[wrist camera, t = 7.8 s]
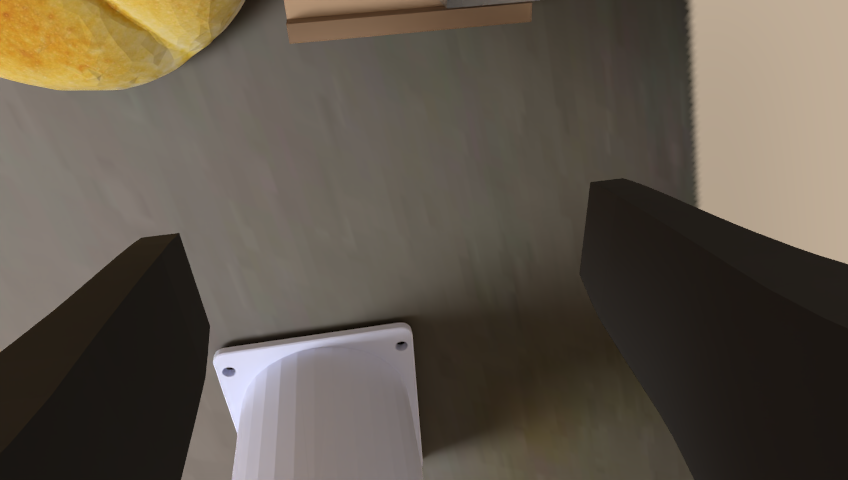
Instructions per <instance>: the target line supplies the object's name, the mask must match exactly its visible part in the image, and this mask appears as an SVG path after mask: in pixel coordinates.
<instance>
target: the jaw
mask: <svg viewBox="0 0 848 480" xmlns="http://www.w3.org/2000/svg"><path fill="white" fill-rule="evenodd" d="M526 1H538V0H440V2H441V3H442V4H443V5H444V6H445V7H446V8H458V7H469V6H481V5H492V4H504V3H515V2H526Z"/></svg>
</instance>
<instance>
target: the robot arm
mask: <svg viewBox="0 0 848 480" xmlns="http://www.w3.org/2000/svg"><path fill="white" fill-rule="evenodd" d="M580 276H581V279H582V281H583V283H584V286H585V288H586V290H587V293H588V295H589V298H590V300H591V302H592V304H593V306H594V308H595V310H596V313H597V315H598V317H599V319H600V320H601V322H602V324H603V325H604V327H605V329H606V330H607V332H608V334H609V335H610V337H611V338H612V340H613V342H614V343H615V345H616V346H617V348H618V349H619V351H620V353H621V354H622V356H623V357H624V359H625V360H626V362H627V364H628V365H629V367H630V368H631V370H632V371H633V373H634V375H635V376H636V378H637V379H638V381H639V382H640V384H641V385H642V387H643V389H644V390H645V392H646V393H647V395H648V396H649V398H650V399H651V401H652V403H653V404H654V406H655V407H656V409H657V410H658V412H659V414H660V415H661V417H662V419H663V420H664V422H665V424H666V425H667V427H668V429H669V431H670V432H671V434H672V436H673V438H674V439H675V441H676V443H677V445H678V447H679V449H680V451H681V453H682V455H683V457H684V459H685V461H686V464H687V466H688V468H689V470H690V472H691V474H692V476H693V478H694V480H848V264H845V263H842V262H839V261H835V260H832V259H829V258H825V257H822V256H819V255H816V254H813V253H810V252H807V251H804V250H801V249H798V248H795V247H793V246H790V245H787V244H785V243H782V242H780V241H777V240H774V239H772V238H769V237H766V236H764V235H761V234H758V233H756V232H753V231H751V230H748V229H746V228H743V227H741V226H738V225H736V224H733V223H731V222H729V221H726V220H724V219H721V218H719V217H716V216H714V215H712V214H710V213H708V212H705V211H703V210H701V209H698V208H696V207H694V206H691V205H689V204H687V203H684V202H682V201H680V200H678V199H675V198H673V197H671V196H668V195H666V194H664V193H661V192H659V191H657V190H654V189H652V188H649V187H647V186H644V185H642V184H639V183H636V182H633V181H630V180H627V179H623V178H622V179H614V180H606V181H598V182H590V191H589V199H588V208H587V216H586V224H585V233H584V241H583V249H582V258H581V266H580ZM209 331H210V325H209V322H208V319H207V316H206V313H205V310H204V307H203V304H202V301H201V298H200V295H199V292H198V289H197V286H196V283H195V280H194V277H193V274H192V271H191V268H190V265H189V262H188V259H187V256H186V253H185V250H184V247H183V243H182V240H181V237H180V234H179V233H176V234H168V235H160V236H152V237H144V238H141V239H139V240H138V241H136V242H135V243H133V244H132V245H131V246H129V247H128V248H127V249H126V250H124V251H123V252H122V253H121V254H120V255H118V256H117V257H116V258H115V259H114V260H112V261H111V262H110V263H109V264H108V265H107V266H105V267H104V268H103V269H102V270H101V271H100V272H98V273H97V274H96V275H95V276H94V277H93V278H92V279H90V280H89V281H88V282H87V283H86V284H84V285H83V286H82V287H81V288H80V289H79V290H77V291H76V292H75V293H74V294H73V295H72V296H70V297H69V298H68V299H67V300H66V301H64V302H63V303H62V304H61V305H60V306H59V307H57V308H56V309H55V310H54V311H53V312H51V313H50V314H49V315H47V316H46V317H45V318H44V319H42V320H41V321H40V322H38V323H37V324H36V325H35V326H33V327H32V328H31V329H30V330H28V331H27V332H26V333H24V334H23V335H22V336H21V337H19V338H18V339H17V340H15V341H14V342H13V343H12V344H10V345H9V346H8V347H7V348H5V349H4V350H3V351H1V352H0V480H181V477H182V473H183V469H184V465H185V461H186V457H187V452H188V448H189V444H190V440H191V436H192V432H193V428H194V424H195V420H196V415H197V411H198V407H199V403H200V398H201V394H202V390H203V385H204V381H205V375H206V366H207V356H208V344H209ZM398 342H405V343H404V344H401V345H400V344H397V343H398ZM213 364H214V367H215V370H216V373H217V376H218V379H219V382H220V385H221V388H222V391H223V393H224V396H225V399H226V402H227V405H228V408H229V411H230V414H231V417H232V420H233V423H234V425H235V428H236V431H237V434H238V436H237V444H236V451H235V459H234V467H233V475H232V480H424V478H423V472H422V466H423V458H422V446H421V433H420V421H419V408H418V396H417V384H416V371H415V359H414V347H413V335H412V330H411V327H410V326H409V325H408V324H406V323H392V324H385V325H378V326H371V327H365V328H358V329H351V330H344V331H337V332H330V333H323V334H316V335H309V336H302V337H295V338H289V339H282V340H275V341H268V342H261V343H254V344H247V345H240V346H233V347H226V348H222V349H219V350H218V351H216V353H215V355H214V359H213ZM227 367H231V368H234V369H232V370H228V369H226V368H227Z"/></svg>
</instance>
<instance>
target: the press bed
mask: <svg viewBox="0 0 848 480" xmlns="http://www.w3.org/2000/svg"><path fill="white" fill-rule="evenodd" d="M284 3H285V9H286V15H287V24H286V25H287V31H288V36H289V42H290V44H292V43H303V42H314V41H325V40H336V39H347V38H358V37H369V36H380V35H390V34H401V33H412V32H423V31H434V30H445V29H456V28H467V27H478V26H489V25H499V24H510V23H521V22H531V15H532V2H530V1H526V2H515V3H504V4H492V5H481V6H469V7H458V8H446V7H445V6H444V5H443V4H442V3H441V2H440V0H284Z"/></svg>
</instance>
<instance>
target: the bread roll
mask: <svg viewBox="0 0 848 480" xmlns="http://www.w3.org/2000/svg"><path fill="white" fill-rule="evenodd" d="M244 2H245V0H0V77H2V78H6V79H9V80H13V81H16V82H21V83H25V84H30V85H34V86H40V87H46V88H50V89H55V90H122V89H127V88H131V87H135V86H138V85H142V84H145V83H148V82H150V81H153V80H155V79H158V78H160V77H162V76H164V75H166V74H168V73H170V72H172V71H174V70H176V69H177V68H179V67H180V66H181V65H183V64H184V63H185V62H186V61H188V60H189V59H190V58H191V57H192V56H194V55H195V54H196V53H198V52H199V51H201V50H202V49H204V48H205V47H206V46H208V45H209V44H210V43H211V42H212V40H214V39H215V38H216V37H217V36H218V35H219V34H220V33H222V32H223V31H224V30H225V29H226V28H227V26H228V25H229V24H230V23H231V21H232V20H233V19H234V17H235V16H236V15H237V13H238V12H239V10H240V9H241V7H242V5H243V4H244Z"/></svg>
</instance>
